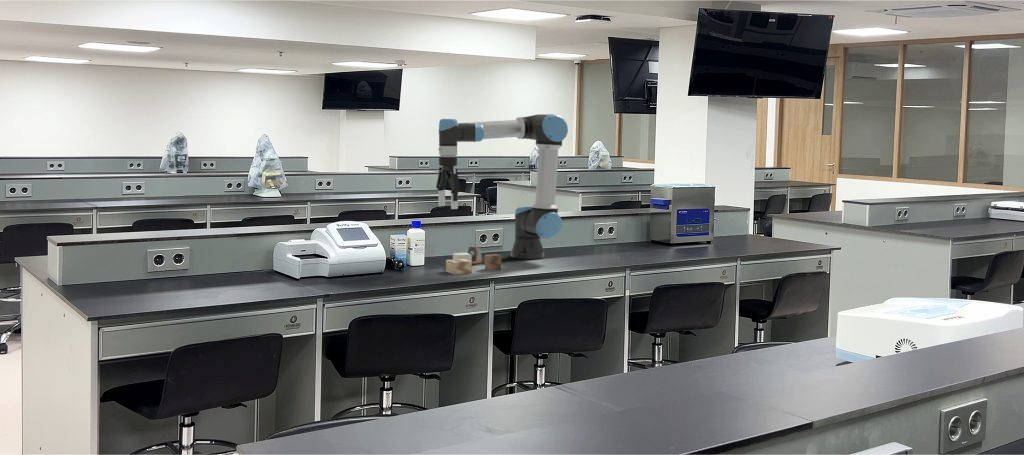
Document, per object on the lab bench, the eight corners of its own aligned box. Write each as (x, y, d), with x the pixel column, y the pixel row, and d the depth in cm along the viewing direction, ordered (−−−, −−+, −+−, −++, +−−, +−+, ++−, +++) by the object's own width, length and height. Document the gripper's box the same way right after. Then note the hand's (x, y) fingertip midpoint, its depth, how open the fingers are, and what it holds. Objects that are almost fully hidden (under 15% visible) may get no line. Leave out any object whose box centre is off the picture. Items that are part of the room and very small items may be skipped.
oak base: (463, 270, 387) (463, 258, 387) (471, 273, 380) (472, 261, 380) (445, 271, 383) (445, 259, 383) (454, 274, 376) (454, 262, 376)
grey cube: (465, 266, 397) (465, 252, 397) (471, 268, 392) (471, 254, 391) (452, 267, 395) (452, 253, 394) (458, 269, 389) (458, 255, 389)
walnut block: (495, 268, 393) (495, 254, 393) (500, 269, 389) (500, 255, 388) (484, 269, 391) (484, 254, 390) (490, 270, 387) (490, 256, 386)
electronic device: (464, 265, 401) (464, 247, 400) (472, 262, 410) (472, 245, 409) (474, 265, 399) (474, 248, 398) (482, 262, 408) (482, 245, 408)
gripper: (428, 155, 395) (428, 205, 398) (451, 157, 373) (451, 210, 376) (444, 154, 399) (444, 204, 401) (468, 157, 376) (468, 209, 379)
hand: (448, 207), depth 388 cm, fingers open, 13 cm apart
